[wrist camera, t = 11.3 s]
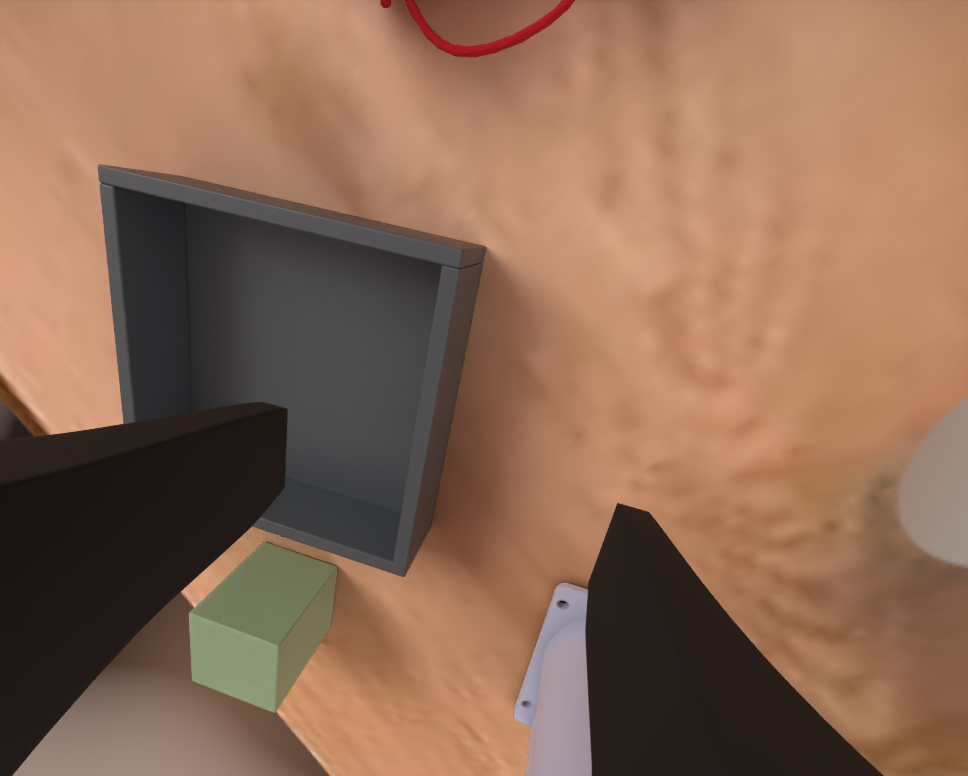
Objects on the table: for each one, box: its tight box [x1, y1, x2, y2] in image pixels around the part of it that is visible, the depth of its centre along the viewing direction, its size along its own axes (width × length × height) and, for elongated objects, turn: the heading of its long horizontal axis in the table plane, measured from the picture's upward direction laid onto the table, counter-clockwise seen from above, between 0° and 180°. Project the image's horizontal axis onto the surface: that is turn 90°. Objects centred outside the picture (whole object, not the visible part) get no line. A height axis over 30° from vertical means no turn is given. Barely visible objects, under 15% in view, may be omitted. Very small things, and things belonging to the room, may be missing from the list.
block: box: [189, 542, 338, 713], centre depth 22 cm, size 4×4×5 cm
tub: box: [98, 165, 486, 577], centre depth 18 cm, size 13×13×3 cm
